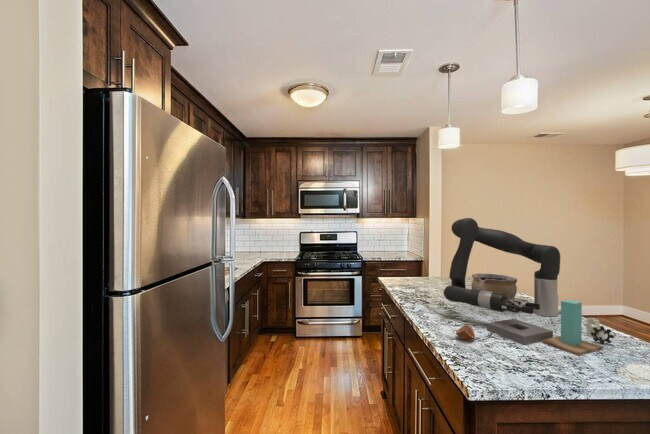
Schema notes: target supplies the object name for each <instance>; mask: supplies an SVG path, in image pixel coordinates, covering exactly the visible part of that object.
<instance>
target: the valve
mask: <svg viewBox="0 0 650 434" xmlns="http://www.w3.org/2000/svg"><path fill="white" fill-rule="evenodd" d="M586 321H587V323H586V334H587V336H589V337H593V339H592V340H593V341H594V342H598V341H599V343H600V344H601V345H605V342H606V343H607V344H611V343H612V340H611V339H614V338H615V335H614V334H610V333H611V332H612V330H611V329H610V328H607V329H605V326H603V325H600V319H598V318H594V317H587V318H586ZM606 334H607V337H606ZM603 338H604V339H603Z"/></svg>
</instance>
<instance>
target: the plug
mask: <svg viewBox="0 0 650 434" xmlns="http://www.w3.org/2000/svg"><path fill="white" fill-rule="evenodd" d="M582 308H583V305H582V302H580V301H576V300H571V299H565V300H560V336H561V342H563V343H566V344H569V345H572V346H578V345H581V344H582V340H583V338H582V336H583V335H582V331H583V330H582V320H583V319H582V317H583V316H582V315H583V313H582V311H583V309H582Z"/></svg>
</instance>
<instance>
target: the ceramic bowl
mask: <svg viewBox="0 0 650 434" xmlns="http://www.w3.org/2000/svg"><path fill="white" fill-rule="evenodd" d="M471 276H472V281H471V289H474V290H481V291H490V292H496V293H502V294H505V295H506V298H507V299H508V300H510V299H512V298H515V296H516V295H517V291H518V289H517V282H518V278H516V277H512V276H508V275H504V274H496V273H480V272H478V273H472V274H471Z"/></svg>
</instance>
